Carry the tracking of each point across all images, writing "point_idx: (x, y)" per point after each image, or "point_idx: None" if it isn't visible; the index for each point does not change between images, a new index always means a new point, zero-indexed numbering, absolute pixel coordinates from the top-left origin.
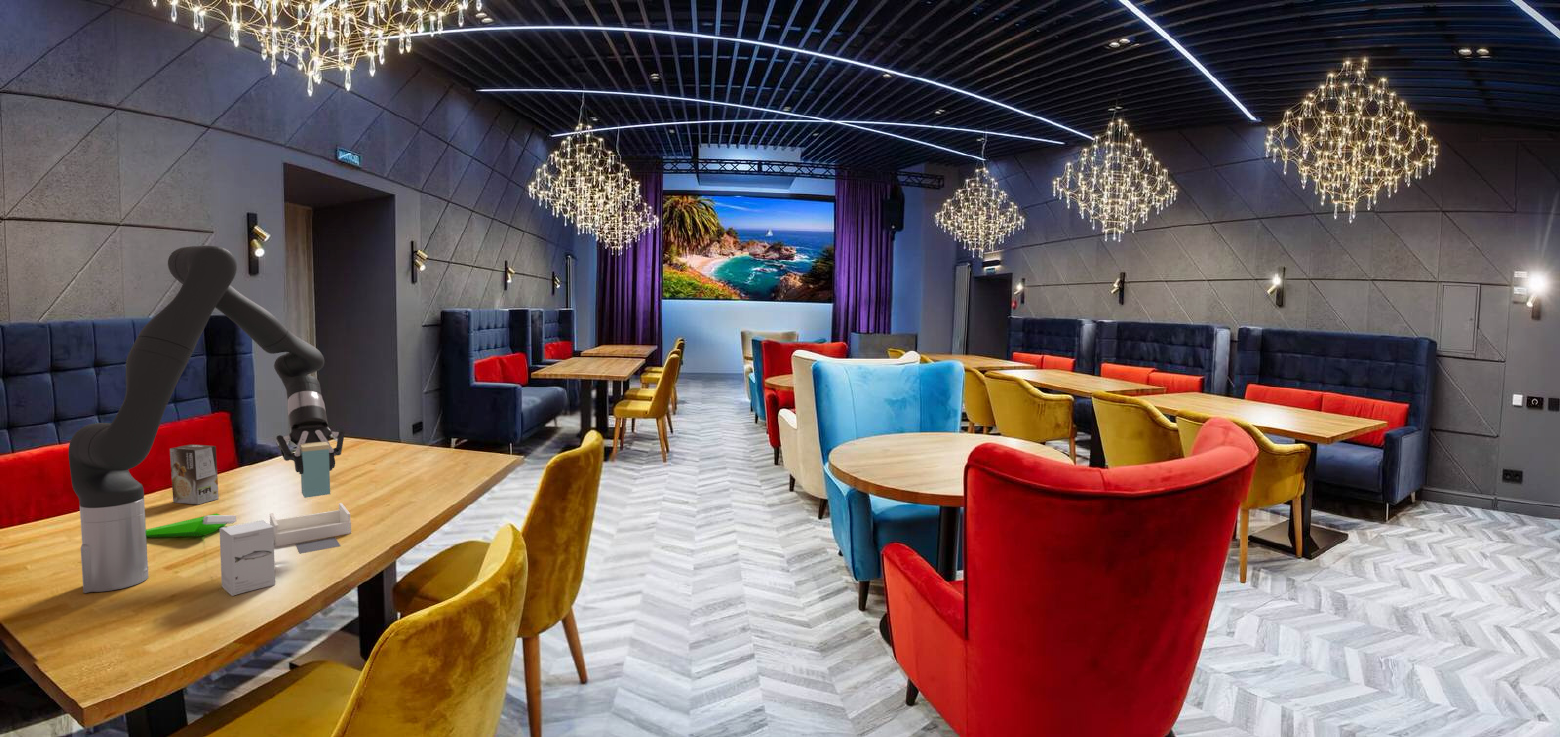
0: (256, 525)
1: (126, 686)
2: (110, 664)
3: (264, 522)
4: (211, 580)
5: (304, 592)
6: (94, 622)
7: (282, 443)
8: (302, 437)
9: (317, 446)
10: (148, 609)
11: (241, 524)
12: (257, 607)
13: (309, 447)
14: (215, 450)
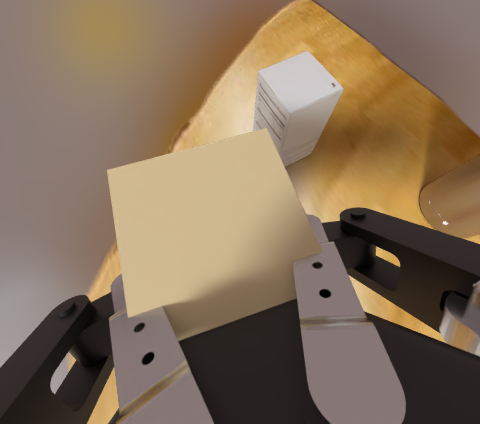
0: (287, 81)
1: (293, 7)
2: (322, 33)
3: (281, 95)
4: (334, 180)
5: (216, 111)
6: (388, 104)
7: (461, 251)
8: (345, 317)
9: (182, 154)
10: (356, 118)
11: (315, 93)
12: (252, 91)
13: (227, 141)
14: None
